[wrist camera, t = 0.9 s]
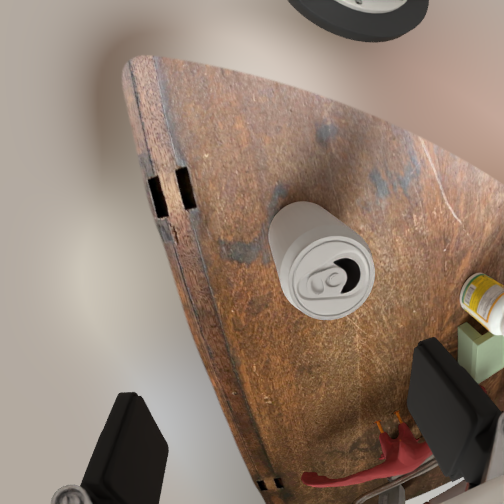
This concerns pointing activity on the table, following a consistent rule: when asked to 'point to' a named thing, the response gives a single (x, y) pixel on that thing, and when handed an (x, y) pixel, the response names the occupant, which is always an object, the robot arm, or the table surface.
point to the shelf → (480, 352)
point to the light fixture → (400, 479)
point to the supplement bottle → (484, 302)
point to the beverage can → (320, 261)
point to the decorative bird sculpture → (394, 452)
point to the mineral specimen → (393, 496)
